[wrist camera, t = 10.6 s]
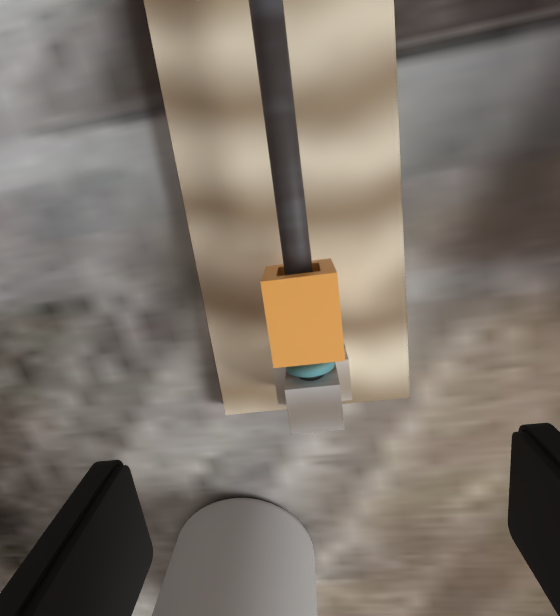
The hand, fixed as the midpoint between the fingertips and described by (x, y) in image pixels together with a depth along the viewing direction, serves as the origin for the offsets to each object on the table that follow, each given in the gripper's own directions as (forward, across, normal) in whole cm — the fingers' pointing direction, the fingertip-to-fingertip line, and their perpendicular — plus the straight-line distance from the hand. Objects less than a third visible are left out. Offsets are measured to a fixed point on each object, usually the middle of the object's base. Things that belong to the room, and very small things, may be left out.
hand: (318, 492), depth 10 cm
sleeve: (+16, 0, 0) cm, 16 cm away
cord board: (+20, 0, -6) cm, 21 cm away
